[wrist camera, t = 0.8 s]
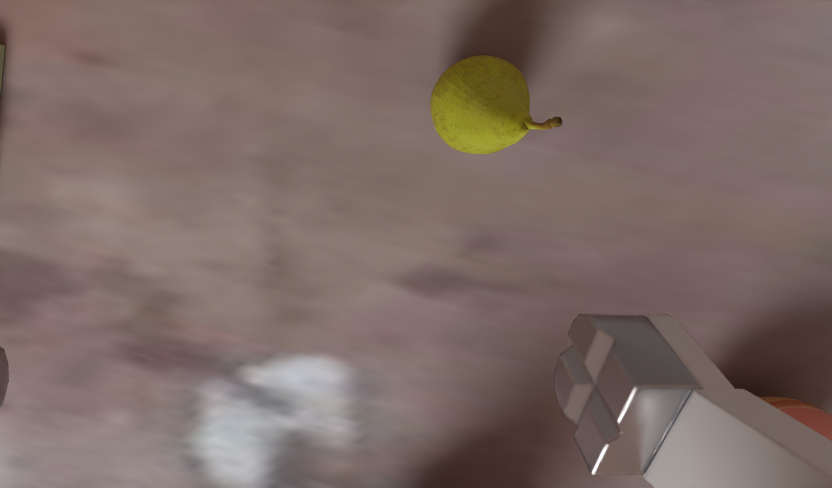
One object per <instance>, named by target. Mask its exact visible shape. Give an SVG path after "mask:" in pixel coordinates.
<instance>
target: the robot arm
mask: <svg viewBox="0 0 832 488" xmlns="http://www.w3.org/2000/svg"><path fill="white" fill-rule="evenodd" d="M568 334H569V337H570V339H571V341H572V343H573V345H571V346H570V347H569V348H568V349H567V350H565V351H564V352H563V353H562V354H560V356H559V359H558V362H557V365H556V368H555V380H554V388H555V393H556V397H557V401H558V403H559V406H560V408H561V410H562V412H563V414H564V415H565V416H567V417H568V418H569V419H570V420H572V421H573V422H574V423H575V424H577V425H578V426H577V429H576V432H575V436H574V439H575V441H576V443H577V445H578V447H579V449H580V451H581V454H582V456H583V458H584V460H585V462H586V464H587V466H588V468H589V471H590V473H591V475H643V474H645V475H644V477H643V478H644V479H646V480H647V481H648V482H649V483H650V484H651V485H652V486H653V487H654V488H832V441H831V440H829V439H828V438H826V437H824V436H823V435H821V434H819V433H818V432H816V431H814V430H812V429H811V428H809V427H807V426H806V425H804V424H802V423H801V422H799V421H797V420H796V419H794V418H792V417H791V416H789V415H787V414H785V413H784V412H782V411H780V410H779V409H777V408H775V407H774V406H772V405H770V404H769V403H767V402H765V401H764V400H762V399H760V398H758V397H757V396H755V395H753V394H752V393H750V392H748V391H747V390H745V389H735V388H734V387H733V386H732V385H731V383H730V382H729V381H728V380H727V379H726V377H725V376H724V375H723V374H722V372H721V371H720V370H719V369H718V368H717V366H716V365H715V364H714V363H713V362H712V360H711V359H710V358H709V357H708V356H707V354H706V353H705V352H704V351H703V350H702V348H701V347H700V346H699V345H698V344H697V342H696V341H695V340H694V339H693V337H692V336H691V335H690V334H689V333H688V331H687V330H686V329H685V328H684V327H683V325H682V324H681V323H680V322H679V321H678V319H676V318H674V317H672V316H670V315H669V314H639V315H607V314H579V315H578V317H577V318H576V319H575V320H574V321H573V323H572V325H571V328H570V330H569V333H568ZM8 382H9V370H8V361H7V358H6V354H5V351H4V349H3V348H1V347H0V407H1V406H2V404H3V401H4V398H5V394H6V390H7V386H8Z"/></svg>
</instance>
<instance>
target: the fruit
mask: <svg viewBox="0 0 832 488" xmlns="http://www.w3.org/2000/svg"><path fill="white" fill-rule="evenodd" d="M529 104H530V100H529V92H528V88H527V84H526V81H525V79H524V77H523V76H522V74H521V72H520V71H519V70H518V69H517V68H516V67H515V66H514V65H512V64H511V63H509V62H507V61H506V60H504V59H500V58H497V57H493V56H488V55H477V56H472V57H469V58H465V59H463V60H461V61H459V62H457V63H455V64H454V65H452V66H451V67H449V68H448V69H447V70H446V71H445V72H444V73H443V74H442V75H441V77H440V78H439V80H438V82H437V83H436V85H435V87H434V89H433V92H432V96H431V101H430V105H431V114H432V119H433V123H434V126H435V128H436V131H437V132H438V134H439V135H440V137H441V138H442V140H443V141H444V142H446V143H447V144H448V145H449V146H450V147H452V148H454V149H456V150H458V151H462V152H467V153H473V154H489V153H494V152H497V151H499V150H502V149H504V148H505V147H507V146H510V145H512V144H514V143H516V142H518V141H519V140H521V139H522V138H523V137H524V136H525V135H526V134H527V133H528V132H529V130H530V129H551V128H553V127H559V126H561V125H562V119H561V118H560V117H554V118H552V119H548V120H547V121H546V122H544V123H535V122H533V121H532V118H531V116H530V114H529Z"/></svg>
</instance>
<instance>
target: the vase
mask: <svg viewBox="0 0 832 488" xmlns="http://www.w3.org/2000/svg"><path fill="white" fill-rule="evenodd" d="M758 398H760V399H762V400H764V401H765V402H767V403H769V404H770V405H772V406H774V407H775V408H777V409H779V410H780V411H782V412H784V413H785V414H787V415H789V416H791V417H792V418H794V419H796V420H797V421H799V422H801V423H802V424H804V425H806V426H807V427H809V428H811V429H812V430H814V431H816V432H818V433H819V434H821V435H823V436H824V437H826V438H828V439H829V440H831V441H832V414H830V413H828V412H827V411H825V410H823V409H821V408H819V407H817V406H814V405H812V404H809V403H807V402H804V401H800V400H796V399H792V398H787V397H776V396H760V397H758Z"/></svg>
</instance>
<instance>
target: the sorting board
mask: <svg viewBox="0 0 832 488" xmlns="http://www.w3.org/2000/svg"><path fill="white" fill-rule="evenodd" d="M4 53H5V45H3V44H0V94H1V84H2V73H3V63H4Z"/></svg>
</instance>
